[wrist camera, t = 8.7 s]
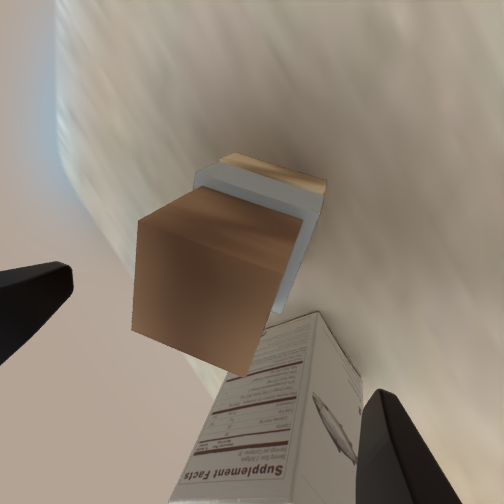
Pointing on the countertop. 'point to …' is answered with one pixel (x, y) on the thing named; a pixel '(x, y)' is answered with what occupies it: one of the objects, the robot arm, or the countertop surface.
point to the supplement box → (281, 426)
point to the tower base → (276, 172)
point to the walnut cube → (210, 275)
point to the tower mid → (271, 197)
